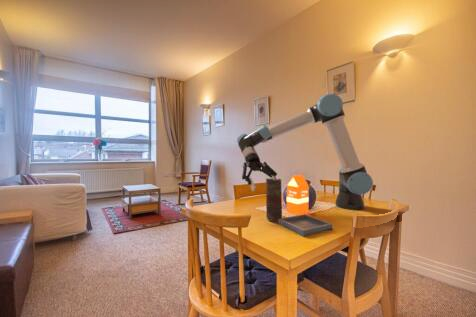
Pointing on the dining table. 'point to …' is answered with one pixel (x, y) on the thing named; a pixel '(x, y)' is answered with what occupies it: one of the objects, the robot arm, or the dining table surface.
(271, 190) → the candle
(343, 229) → the dining table surface
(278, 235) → the dining table surface
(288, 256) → the dining table surface
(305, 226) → the tray
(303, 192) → the orange juice
